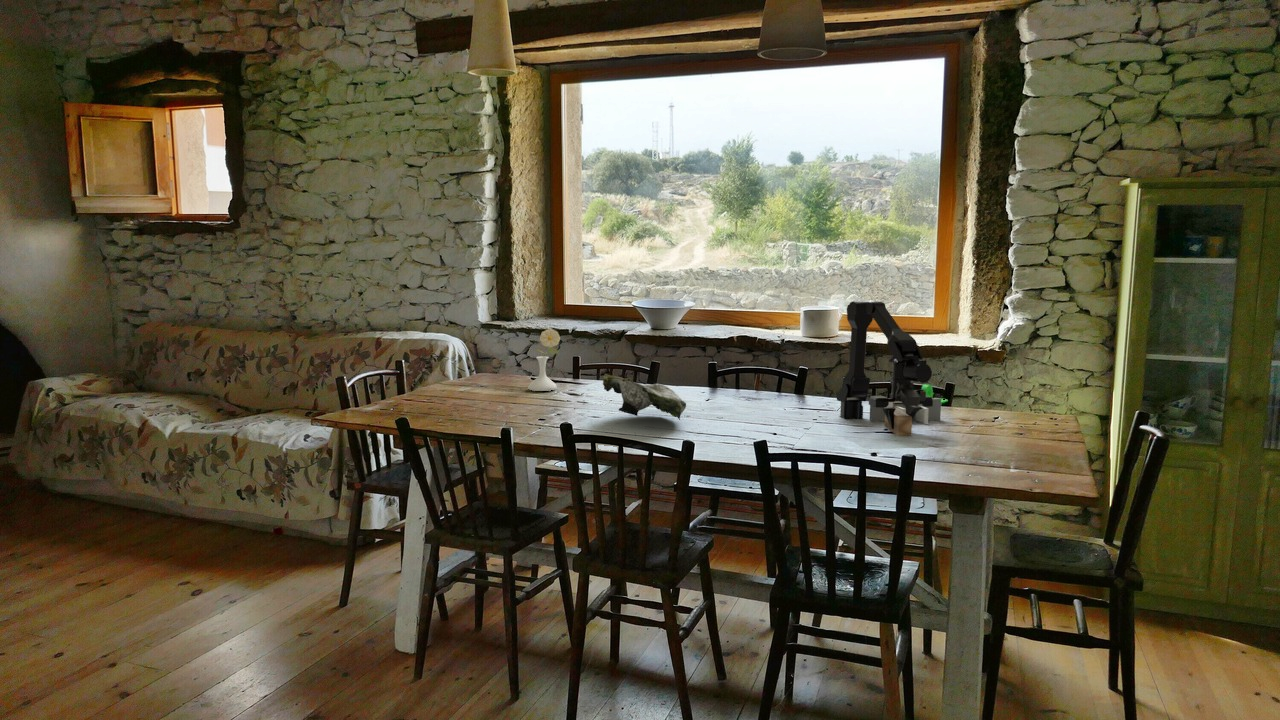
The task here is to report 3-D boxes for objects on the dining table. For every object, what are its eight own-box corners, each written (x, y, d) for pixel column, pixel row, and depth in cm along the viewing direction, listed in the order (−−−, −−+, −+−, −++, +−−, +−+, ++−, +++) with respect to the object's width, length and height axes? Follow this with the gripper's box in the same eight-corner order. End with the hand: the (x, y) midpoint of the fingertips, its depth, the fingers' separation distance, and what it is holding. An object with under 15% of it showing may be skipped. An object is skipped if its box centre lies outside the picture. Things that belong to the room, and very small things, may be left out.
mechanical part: (935, 408, 312) (936, 386, 311) (920, 406, 316) (921, 385, 315) (950, 405, 320) (951, 383, 319) (934, 403, 324) (935, 381, 323)
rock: (581, 394, 277) (597, 351, 280) (613, 419, 303) (626, 379, 307) (665, 415, 265) (679, 370, 269) (690, 439, 292) (703, 398, 296)
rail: (897, 436, 261) (898, 417, 261) (884, 426, 277) (885, 408, 276) (911, 436, 261) (912, 417, 260) (897, 426, 277) (897, 408, 276)
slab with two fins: (879, 424, 279) (880, 403, 278) (869, 420, 287) (870, 399, 286) (949, 423, 283) (950, 402, 282) (937, 418, 290) (938, 398, 290)
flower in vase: (524, 393, 339) (523, 329, 336) (532, 389, 350) (532, 327, 348) (556, 394, 337) (556, 330, 334) (564, 390, 348) (564, 328, 346)
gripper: (884, 382, 256) (882, 434, 258) (943, 381, 259) (941, 433, 261) (868, 377, 267) (867, 427, 269) (925, 376, 270) (923, 426, 272)
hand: (899, 428), depth 267 cm, fingers open, 5 cm apart
